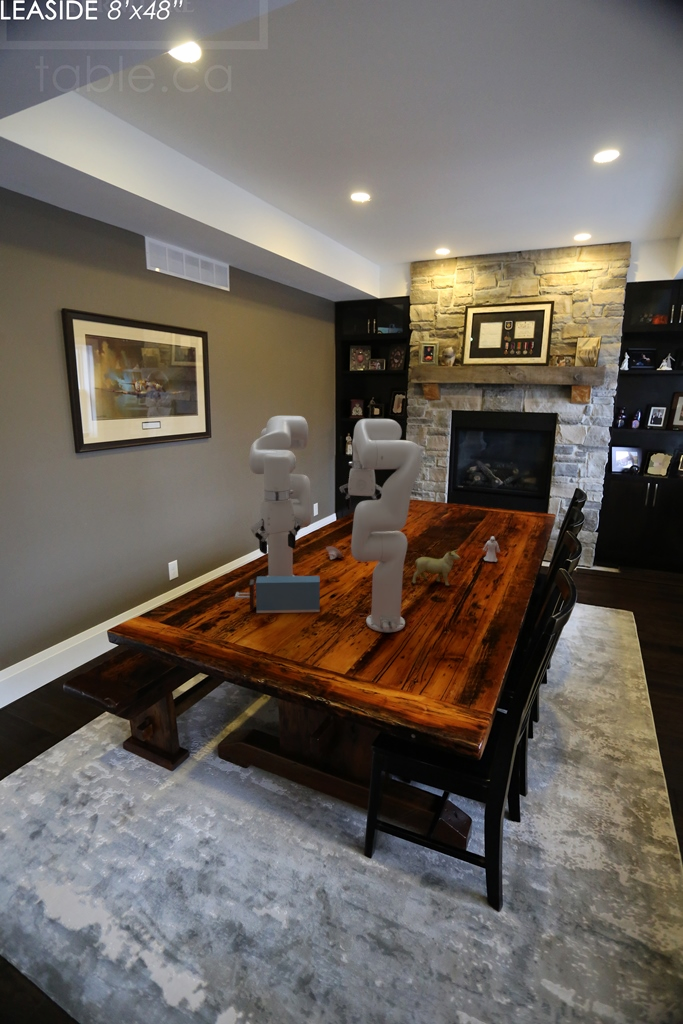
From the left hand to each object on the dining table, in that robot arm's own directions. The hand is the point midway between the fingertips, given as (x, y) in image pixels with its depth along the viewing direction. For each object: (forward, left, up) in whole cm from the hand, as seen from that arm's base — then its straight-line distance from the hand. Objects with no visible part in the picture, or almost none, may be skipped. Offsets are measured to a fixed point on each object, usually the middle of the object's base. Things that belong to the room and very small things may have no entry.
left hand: (277, 550), depth 153 cm
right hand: (-36, +36, +3) cm, 51 cm away
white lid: (-62, +30, -26) cm, 73 cm away
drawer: (-14, -1, -25) cm, 29 cm away
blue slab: (-13, +5, -26) cm, 30 cm away
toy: (-26, +64, -26) cm, 73 cm away
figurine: (-47, +100, -26) cm, 113 cm away
